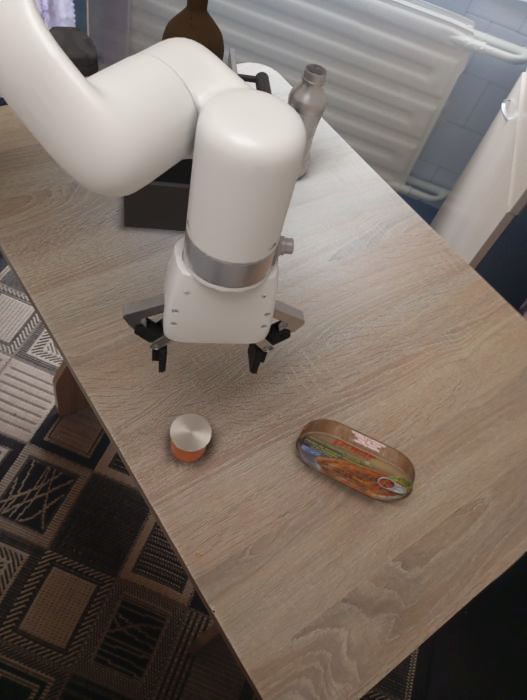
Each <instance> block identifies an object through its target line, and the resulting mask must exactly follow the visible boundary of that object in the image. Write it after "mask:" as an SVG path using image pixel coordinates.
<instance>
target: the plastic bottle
mask: <svg viewBox="0 0 527 700" xmlns="http://www.w3.org/2000/svg"><path fill="white" fill-rule="evenodd" d="M327 77H328V70H327V69H326V68H325V67H324V66H322V65H321V64H317V63H307V64H305V66H304V69H303V73H302V74H301V80H300V81H299V82H297V83H296V84H295V85H294V86H293V87H292V88H291V89H290V92H288V96H287V103H288V104H289V105H290V106H291V107H292V108H294V109H295V111H296V112H297V113H298V114H299V116H300V117H301V119H302V121H303V123H304V126H305V130H306V147H305V151H304V156H303V159H302V163H301V166H300V170H299V173H298V177H297V179H300V178H301V177H303V176H305V174H306V173H307V171H308V169H309V167H310V162H311V151H312V146H313V141H314V137H315V134H316V131H317V129H318V126H319V124H320V122H321V119H322V117H323V115H324V112H325V110H326V108H327V96H326V92H325V89H324V85H325V84H326V82H327V81H326V79H327Z"/></svg>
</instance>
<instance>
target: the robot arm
mask: <svg viewBox="0 0 527 700" xmlns="http://www.w3.org/2000/svg"><path fill="white" fill-rule="evenodd" d="M49 30H50V29H49V28H48V27H47V25H46V23H45V21H44V19H43V17H42V15H41V12H40V11H39V9H38V7H37V3H36V1H35V0H0V95H1V97H2V98H3V100H4V101H5V103H6V104H7V106H8V107H9V108H10V109H11V111H12V112H13V113H14V115H15V116H16V117H17V118H18V119H19V121H20V122H21V123H22V124H23V126H25V128H26V129H27V130H28V131H29V133H31V135H32V136H33V137H34V139H35V140H36V141H37V142H38V143H39V144H40V146H41V147H42V148H43V149H44V150H45V152H46V153H47V154H48V155H49V156H50V158H52V160H54V162H55V163H56V164H57V165H58V166H59V167H60V168H61V169H62V170H63V171H64V172H65V173H66V174H67V175H68V176H69V177H70V178H71V179H72V180H74V181H75V182H76V183H77V184H79V185H80V186H82V187H83V188H85V189H86V190H88V191H90V192H91V193H94V194H96V195H99V196H101V197H107V198H122V197H124V196H126V195H130V194H132V193H135V192H136V191H138V190H140V189H141V188H143V187H144V186H146V185H147V184H149V183H150V182H152V181H153V180H155V179H156V178H157V177H159V176H160V175H161V174H163V173H164V172H166V171H167V170H168V169H170V168H171V167H172V166H174V165H175V164H177V163H178V162H179V161H181V160H182V159H193V162H192V172H191V181H190V191H189V201H188V210H187V220H186V229H185V231H184V236H182V237H180V238H179V239H178V240H177V241H176V242H175V243H174V246H173V248H172V250H171V254H170V256H169V260H168V264H167V267H166V272H165V277H164V279H165V280H164V285H163V292H162V293H161V294H157V295H154V296H151V297H146V298H144V299H140V300H136V301H132V302H129V303H126V304H124V305H123V308H122V309H123V310H122V318H123V320H124V321H125V322H126V324H127V325H128V326H129V327H130V328H132V329H133V333H134V334H135V335H136V336H138V337H139V338H141V339H143V341H146V342H147V343H149V348H150V349H151V361H152V362H158V374H159V373H164V372H166V371H167V358H168V345H169V344H171V343H172V342H177V343H178V342H179V343H189V344H190V343H191V344H192V343H193V344H232V345H234V344H235V345H238V344H239V345H248V347H247V359H248V369H249V373H251V374H253V375H257V374H258V371H259V369H260V365H261V364H263V363H265V361H266V358H267V356H268V353H270V352H273V351H274V349H275V347H274V346H276V345H277V344H280V343H281V342H284V341H287V340H288V339H290V338H291V336H292V333H295V332H296V331H298V330H299V329H300V328H302V327H303V326H304V325H305V323H306V321H305V315H304V311H303V310H300V309H299V308H296V307H294V306H292V305H289V304H287V303H284V302H282V301H279V300H277V295H278V294H277V293H278V285H279V257H280V256H284V255H292V254H293V252H294V249H295V248H294V247H295V241H294V238H292V237H286V236H285V235H282V232H283V228H284V225H285V223H286V222H285V221H286V217H287V214H288V210H289V207H290V204H291V201H292V197H293V194H294V190H295V186H296V184H297V180H298V178H297V177H298V173H299V170H300V166H301V163H302V159H303V156H304V151H305V147H306V130H305V126H304V123H303V121H302V119H301V117H300V116H299V114H298V113H297V112H296V111H295V109H294V108H292V107H291V106H290V105H289V104H288V101H287V102H286V101H285V100H283V98H280V97H278V96H276V95H274V94H269V93H267V92H263V91H259V90H256V88H254V87H252V86H251V85H250V84H249V83H248V82H245V81H244V80H242V79H241V78H240V77H239V76H238V75H237V74H236V73H235V72H234V71H233V70H231V69H230V68H229V67H228V66H227V63H225V62H224V61H222V60H220V59H219V58H218V57H217V56H216V55H215V54H214V53H212V52H211V51H210V50H209V49H207V48H206V47H204V46H203V45H201V44H200V43H198V42H196V41H194V40H191V39H187V38H179V37H175V38H170V39H166V40H164V41H162V40H161V41H159V42H157V43H155V44H153V45H150V46H148V47H147V48H145V49H143V50H141V51H138V52H137V53H135V54H132V55H129V56H127V57H125V58H123V59H121V60H119V61H117V62H115V63H113V64H111V65H109V66H107V67H105V68H103V69H101V70H99V72H97V73H95V74H93V75H91V76H89V77H87V78H85V77H84V76H83V75H82V74H81V72H80V71H79V70H78V69H77V67H76V66H75V65H74V64H73V62H72V61H71V60H70V59H69V58H68V56H67V55H66V54H65V52H64V51H63V50H62V48H61V47H60V46H59V45H58V43H57V42H56V41H55V39H54V38H53V36H52V34H51V33H50V31H49ZM157 315H159V316H157ZM154 316H157V317H156V318H154V319H151V317H154ZM273 319H275V320H277V321H276V322H274V323H272V322H273Z"/></svg>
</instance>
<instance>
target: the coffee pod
mask: <svg viewBox="0 0 527 700" xmlns="http://www.w3.org/2000/svg"><path fill="white" fill-rule="evenodd" d="M212 434H213V431H212V426H211V424H210V423H209V421H208V420H207V419H206V418H205V417H204V416H202V415H200V414H197V413H193V412H191V413H189V412H188V413H183V414H181V415H179V416H177V417H176V418H175V419H174V420H173V421H172V422H171V425H170V428H169V436H170V451H171V453H172V455H173V456H174V457H175V458H176V459H177V460H180V461H182V462H186V463H189V462H190V463H191V462H195V461H198V460H199V459H201V457H203V455H204V454H205V452H206V449H207V446H208V445H209V443H210V441H211V440H212Z"/></svg>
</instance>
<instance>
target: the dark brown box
mask: <svg viewBox="0 0 527 700" xmlns="http://www.w3.org/2000/svg"><path fill="white" fill-rule="evenodd" d="M192 162H193V159H182V160H181V161H179V162H178V163H177V164H175V165H174V166H172V167H171V168H170V169H168V170H167V171H166V172H164V173H163V174H161V175H160V176H159V177H157V178H156V179H155V180H153V181H152V182H150V183H149V184H147V185H146V186H144V187H143V188H141V189H140V190H138V191H136V192H135V193H132V194H130V195H126V196H123V226H124V227H129V228H141V229H154V230H167V231H184V232H185V229H186V220H187V210H188V201H189V191H190V181H191V172H192Z"/></svg>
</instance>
